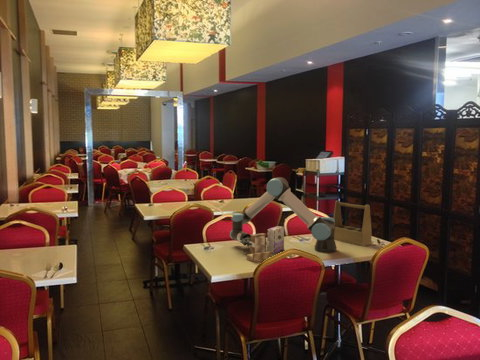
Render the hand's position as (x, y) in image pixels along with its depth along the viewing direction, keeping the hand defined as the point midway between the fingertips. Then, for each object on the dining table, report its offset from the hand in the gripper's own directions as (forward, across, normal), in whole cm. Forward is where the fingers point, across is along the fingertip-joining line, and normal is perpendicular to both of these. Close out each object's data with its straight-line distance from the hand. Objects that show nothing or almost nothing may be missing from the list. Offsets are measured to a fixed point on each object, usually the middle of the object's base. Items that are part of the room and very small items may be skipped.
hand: (261, 244), depth 294 cm
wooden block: (-4, 0, -8) cm, 9 cm away
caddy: (-2, -82, -8) cm, 82 cm away
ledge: (+5, +5, -8) cm, 11 cm away
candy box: (-7, -16, -8) cm, 19 cm away
